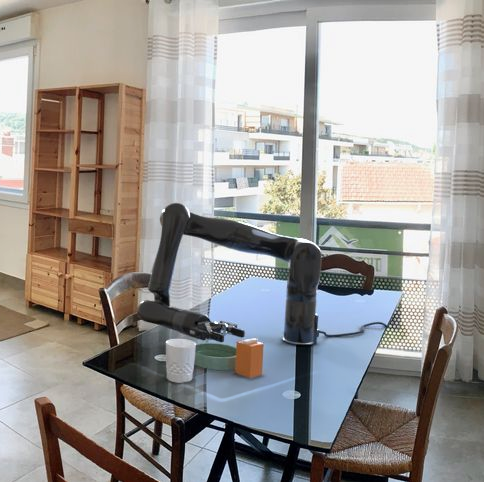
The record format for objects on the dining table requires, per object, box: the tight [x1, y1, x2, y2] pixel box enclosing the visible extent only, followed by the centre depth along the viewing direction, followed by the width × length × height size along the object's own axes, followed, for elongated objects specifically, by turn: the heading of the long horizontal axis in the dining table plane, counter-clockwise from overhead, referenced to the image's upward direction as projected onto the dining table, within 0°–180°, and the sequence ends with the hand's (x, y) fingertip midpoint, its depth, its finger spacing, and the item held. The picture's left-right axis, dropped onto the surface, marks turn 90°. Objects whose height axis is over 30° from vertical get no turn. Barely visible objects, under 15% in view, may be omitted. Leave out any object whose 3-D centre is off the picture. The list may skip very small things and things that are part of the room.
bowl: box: [194, 342, 236, 371], centre depth 178 cm, size 14×14×4 cm
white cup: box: [165, 338, 197, 384], centre depth 165 cm, size 8×8×10 cm
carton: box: [234, 337, 264, 379], centre depth 168 cm, size 5×5×10 cm
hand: (233, 336), depth 173 cm, fingers open, 8 cm apart
